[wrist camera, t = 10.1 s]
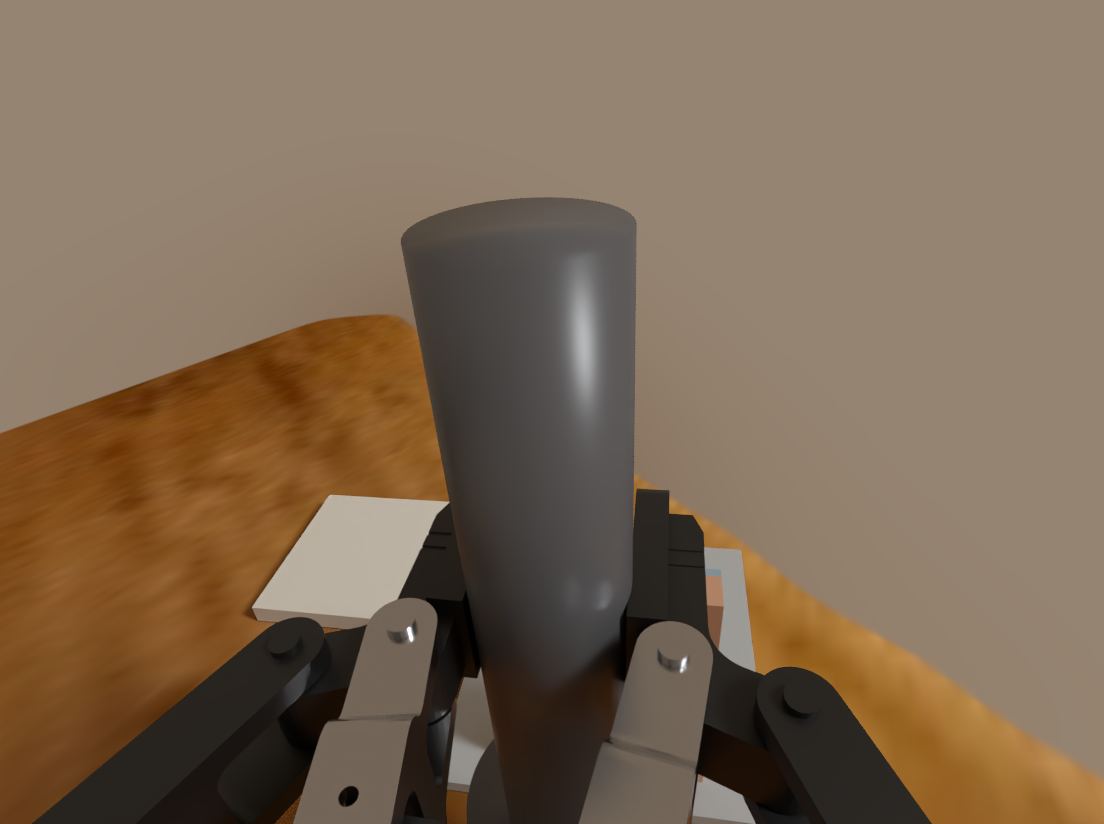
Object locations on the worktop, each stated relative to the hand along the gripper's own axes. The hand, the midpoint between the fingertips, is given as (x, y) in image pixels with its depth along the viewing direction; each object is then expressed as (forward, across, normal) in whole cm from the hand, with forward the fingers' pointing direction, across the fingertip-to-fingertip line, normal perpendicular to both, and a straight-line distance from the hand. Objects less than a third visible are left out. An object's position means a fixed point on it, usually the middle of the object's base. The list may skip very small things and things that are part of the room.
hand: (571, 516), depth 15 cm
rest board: (+13, +13, +16) cm, 25 cm away
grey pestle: (-3, 0, +10) cm, 11 cm away
